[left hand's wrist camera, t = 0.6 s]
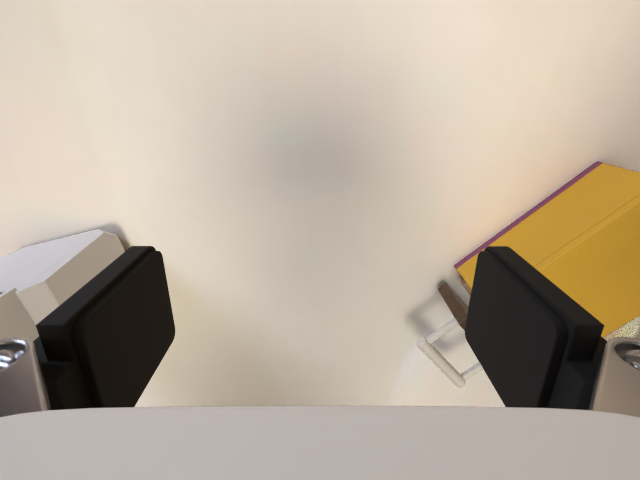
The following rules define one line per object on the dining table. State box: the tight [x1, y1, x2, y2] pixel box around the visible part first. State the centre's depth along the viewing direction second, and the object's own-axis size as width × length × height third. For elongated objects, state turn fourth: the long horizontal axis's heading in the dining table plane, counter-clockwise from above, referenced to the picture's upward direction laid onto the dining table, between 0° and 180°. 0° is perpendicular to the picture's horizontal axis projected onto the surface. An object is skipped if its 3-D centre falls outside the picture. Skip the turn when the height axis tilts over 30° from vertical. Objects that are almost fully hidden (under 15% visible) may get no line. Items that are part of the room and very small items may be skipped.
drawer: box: [416, 279, 483, 387], centre depth 40 cm, size 22×10×7 cm, turn 132°
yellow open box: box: [454, 161, 640, 338], centre depth 39 cm, size 18×11×9 cm, turn 132°
